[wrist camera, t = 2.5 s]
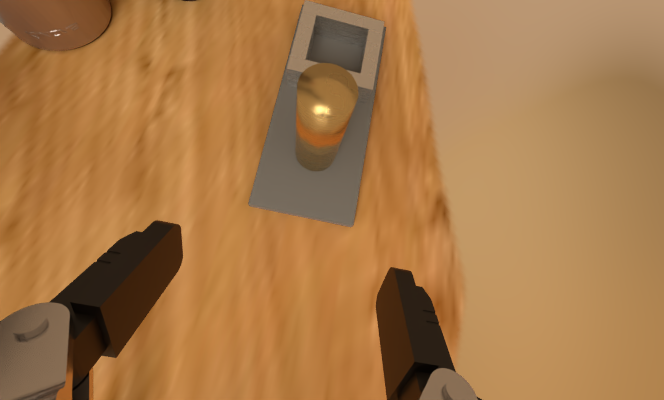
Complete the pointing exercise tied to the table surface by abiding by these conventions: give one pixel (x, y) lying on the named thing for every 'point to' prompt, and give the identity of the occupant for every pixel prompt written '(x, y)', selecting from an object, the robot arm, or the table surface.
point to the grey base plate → (280, 159)
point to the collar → (340, 29)
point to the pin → (323, 113)
